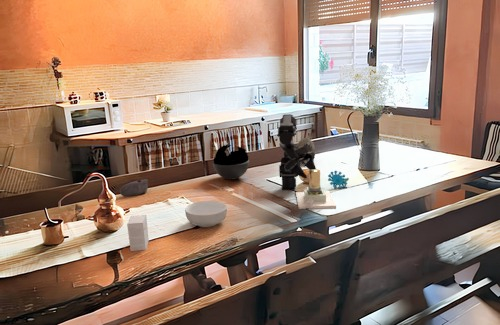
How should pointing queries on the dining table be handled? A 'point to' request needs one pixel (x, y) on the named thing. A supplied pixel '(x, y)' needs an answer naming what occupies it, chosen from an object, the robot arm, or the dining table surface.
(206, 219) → the cereal bowl
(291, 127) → the robot arm
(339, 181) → the teal spiky figurine
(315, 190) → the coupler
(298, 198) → the shaft mount
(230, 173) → the coal bowl
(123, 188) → the perforated stone tool
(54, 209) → the dining table surface
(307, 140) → the decorative egg
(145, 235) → the small box
